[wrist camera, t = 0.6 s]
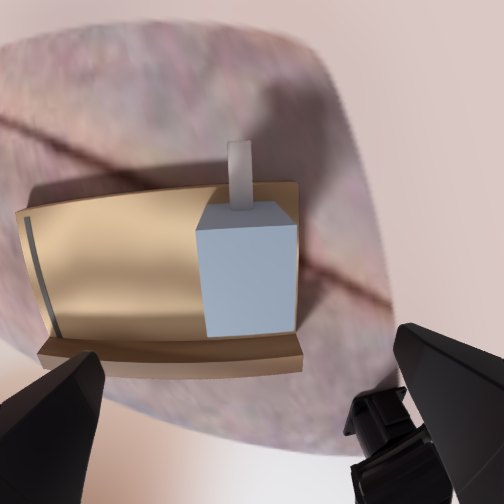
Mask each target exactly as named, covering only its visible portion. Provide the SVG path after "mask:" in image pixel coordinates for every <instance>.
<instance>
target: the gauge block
mask: <svg viewBox="0 0 504 504" xmlns="http://www.w3.org/2000/svg"><path fill="white" fill-rule="evenodd" d="M227 150H228V172H229V193H230V203H221V204H206V206H205V209H204V211H203V213H202V216H201V218H200V220H199V223H198V225H197V228H196V230H195V233H196V244H197V254H198V264H199V273H200V282H201V291H202V299H203V307H204V315H205V322H206V330H207V337H223V336H240V335H255V334H267V333H279V332H289V331H294V327H295V302H296V266H297V224H296V223H295V222H294V221H293V220H292V219H291V218H290V217H289V216H288V215H287V214H286V213H285V212H284V211H283V210H282V208H281V207H280V206H279V205H278V204H277V203H276V202H275V201H259V202H253V182H252V154H251V141H230V142H227Z"/></svg>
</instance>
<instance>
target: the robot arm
mask: <svg viewBox="0 0 504 504" xmlns="http://www.w3.org/2000/svg"><path fill="white" fill-rule="evenodd" d="M393 352H394V355H395V358H396V360H397V363H398V365H399V368H400V370H401V373H402V375H403V378H404V380H405V383H406V385H407V388H408V390H409V393H410V395H411V397H412V399H413V401H414V402H415V405H416V407H417V409H418V411H419V413H420V414H421V417H422V419H423V421H424V423H423V424H422V425H421V426H420V427H418V428H416V426H415V425H414V423H413V421H412V420H411V418H410V414H409V413H408V411H407V409H406V408H405V406H404V405H403V403H402V401H403V399H404V396H405V394H406V391H407V389H406V387H405V386H403V387H399V388H396V389H392V390H388V391H385V392H381V393H377V394H373V395H369V396H364V397H360V398H356V399H354V400H353V402H352V405H351V408H350V412H349V415H348V418H347V422H346V425H345V428H344V431H343V433H344V435H345V436H349V435H353V434H356V436H357V438H358V441H359V443H360V445H361V448H362V450H363V453H364V455H365V457H366V459H365V460H364V461H362V462H360V463H358V464H354V465H352V466H350V467H351V477H352V482H353V487H354V492H355V504H451V503H452V497H453V491H454V490H455V493H456V494H457V495H456V496H457V498H458V501H459V504H504V359H502V358H501V357H498V356H495V355H493V354H490V353H488V352H485V351H482V350H480V349H477V348H475V347H472V346H470V345H467V344H465V343H462V342H459V341H457V340H454V339H452V338H449V337H446V336H444V335H442V334H439V333H437V332H434V331H431V330H429V329H426V328H424V327H421V326H419V325H416V324H414V323H406V324H401V325H400V326H399V327H398V329H397V333H396V338H395V342H394V346H393ZM104 383H105V372H104V369H103V367H102V365H101V362H100V360H99V357H98V355H97V353H96V352H95V351H88V350H83V351H81V352H79V353H78V354H76V355H75V356H73V357H72V358H70V359H69V360H67V361H65V362H64V363H62V364H61V365H59V366H58V367H56V368H55V369H53V370H51V371H50V372H48V373H47V374H45V375H44V376H42V377H41V378H39V379H38V380H36V381H34V382H33V383H32V384H30V385H28V386H27V387H25V388H24V389H22V390H21V391H19V392H18V393H16V394H15V395H13V396H11V397H10V398H8V399H7V400H6V401H4V402H2V404H0V504H81V498H82V493H83V486H84V481H85V476H86V471H87V467H88V462H89V457H90V453H91V448H92V444H93V440H94V436H95V432H96V428H97V424H98V419H99V414H100V407H101V401H102V395H103V389H104Z"/></svg>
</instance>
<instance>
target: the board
mask: <svg viewBox="0 0 504 504" xmlns="http://www.w3.org/2000/svg"><path fill="white" fill-rule="evenodd" d="M259 201H275V202H276V203H277V204H278V205H279V206H280V207H281V208H282V210H283V211H284V212H285V213H286V214H287V215H288V216H289V217H290V218H291V219H292V220H293V221H294V222H295V223H296V224H297V266H296V302H295V327H294V331H289V332H279V333H267V334H255V335H240V336H223V337H207V330H206V322H205V315H204V307H203V299H202V291H201V282H200V273H199V264H198V254H197V244H196V233H195V230H196V228H197V225H198V223H199V220H200V218H201V216H202V213H203V211H204V209H205V206H206V204H221V203H230V193H229V184H213V185H199V186H186V187H174V188H164V189H153V190H144V191H135V192H126V193H118V194H110V195H103V196H96V197H89V198H82V199H75V200H69V201H63V202H57V203H51V204H46V205H40V206H35V207H29V208H25V209H23V210H20V211H17V212H15V214H16V220H17V226H18V231H19V236H20V241H21V246H22V250H23V254H24V259H25V263H26V266H27V270H28V274H29V277H30V281H31V284H32V288H33V291H34V294H35V297H36V301H37V304H38V307H39V309H40V312H41V315H42V318H43V321H44V323H45V326H46V329H47V331H48V334H49V336H50V337H49V338H48V340H47V341H46V342H45V344H44V345H43V346H42V347H41V349H40V350H39V351H38V353H37V356H38V358H39V360H40V362H41V364H42V366H43V368H44V369H48V370H53V369H55V368H56V367H58V366H59V365H61V364H62V363H64V362H65V361H67V360H69V359H70V358H72V357H73V356H75V355H76V354H78V353H79V352H81V351H83V350H88V351H95V352H96V353H97V355H98V357H99V360H100V362H101V365H102V367H103V369H104V372H105V376H107V377H120V378H138V379H222V378H240V377H254V376H266V375H276V374H286V373H294V372H302V367H303V352H302V349H301V347H300V344H299V341H298V338H297V336H296V319H297V294H298V257H299V183H296V182H294V181H279V182H253V202H259Z"/></svg>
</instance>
